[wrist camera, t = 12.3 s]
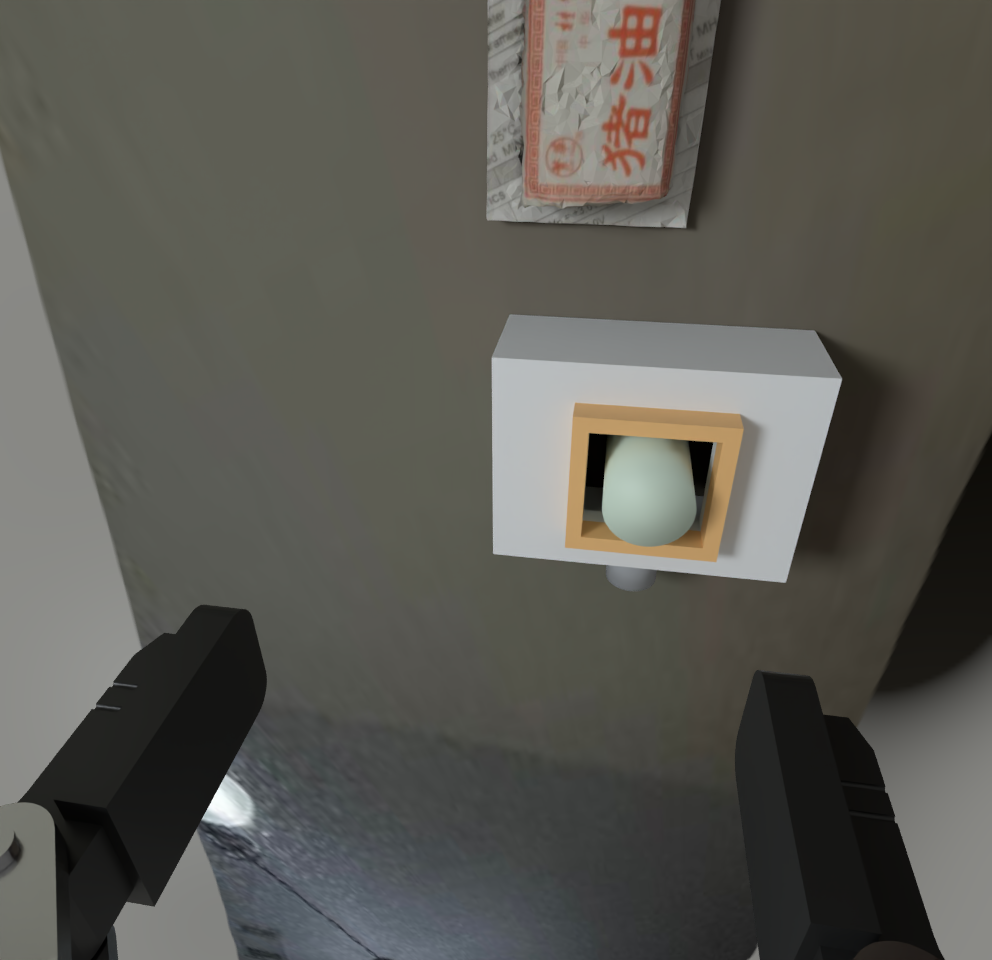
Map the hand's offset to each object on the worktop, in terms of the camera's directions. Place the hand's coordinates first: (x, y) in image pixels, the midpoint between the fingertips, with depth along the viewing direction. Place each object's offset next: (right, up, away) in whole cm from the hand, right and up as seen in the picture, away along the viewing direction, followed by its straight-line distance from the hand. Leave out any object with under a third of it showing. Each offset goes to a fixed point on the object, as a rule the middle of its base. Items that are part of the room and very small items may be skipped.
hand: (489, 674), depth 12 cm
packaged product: (+5, +24, +21) cm, 32 cm away
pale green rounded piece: (+9, +6, +30) cm, 32 cm away
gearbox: (+9, +5, +31) cm, 33 cm away
